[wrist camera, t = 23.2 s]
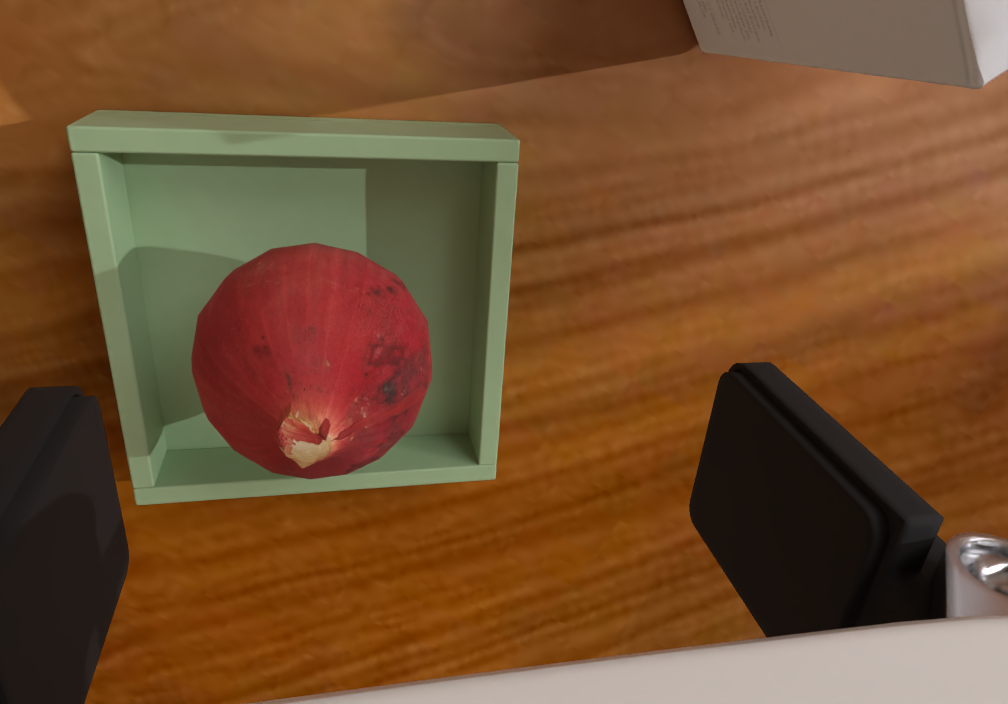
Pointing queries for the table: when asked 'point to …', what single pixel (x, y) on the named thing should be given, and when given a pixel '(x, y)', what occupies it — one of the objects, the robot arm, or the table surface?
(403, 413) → the onion
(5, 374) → the table surface
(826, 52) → the small box
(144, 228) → the green tray
